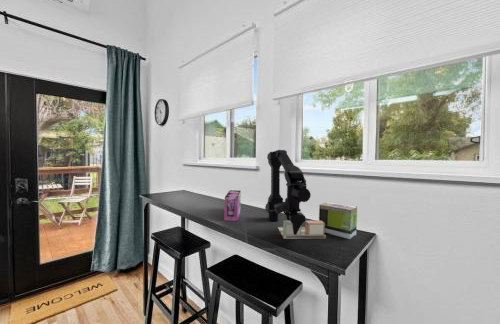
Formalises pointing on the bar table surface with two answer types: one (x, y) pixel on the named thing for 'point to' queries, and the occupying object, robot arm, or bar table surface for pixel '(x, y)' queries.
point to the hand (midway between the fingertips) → (292, 230)
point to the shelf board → (301, 235)
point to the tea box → (339, 219)
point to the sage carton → (289, 228)
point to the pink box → (314, 228)
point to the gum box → (232, 205)
